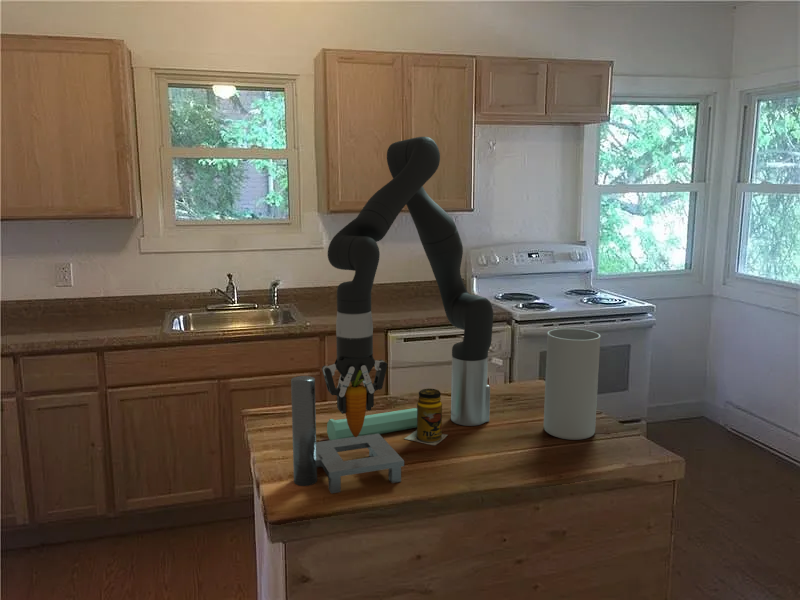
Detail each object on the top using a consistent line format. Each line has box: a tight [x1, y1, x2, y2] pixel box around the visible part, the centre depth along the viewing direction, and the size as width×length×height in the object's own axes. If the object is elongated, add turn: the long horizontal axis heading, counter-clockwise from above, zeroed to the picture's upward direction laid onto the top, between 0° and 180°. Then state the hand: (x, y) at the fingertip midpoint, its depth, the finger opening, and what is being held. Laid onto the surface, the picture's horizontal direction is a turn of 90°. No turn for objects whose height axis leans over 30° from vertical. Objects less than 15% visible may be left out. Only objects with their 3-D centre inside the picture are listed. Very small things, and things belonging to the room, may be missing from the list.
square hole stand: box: [290, 375, 405, 495], centre depth 139 cm, size 21×16×22 cm
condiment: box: [403, 388, 449, 446], centre depth 161 cm, size 7×8×12 cm
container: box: [326, 407, 417, 441], centre depth 165 cm, size 6×6×25 cm
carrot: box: [344, 370, 367, 437], centre depth 140 cm, size 5×5×15 cm
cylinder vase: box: [543, 328, 601, 441], centre depth 164 cm, size 12×12×25 cm
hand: (355, 410), depth 140 cm, fingers closed on carrot, 5 cm apart
